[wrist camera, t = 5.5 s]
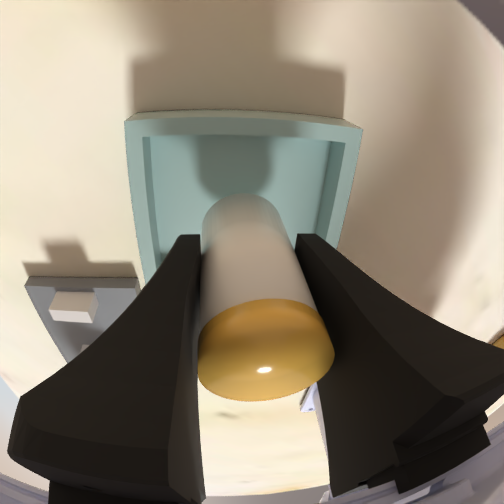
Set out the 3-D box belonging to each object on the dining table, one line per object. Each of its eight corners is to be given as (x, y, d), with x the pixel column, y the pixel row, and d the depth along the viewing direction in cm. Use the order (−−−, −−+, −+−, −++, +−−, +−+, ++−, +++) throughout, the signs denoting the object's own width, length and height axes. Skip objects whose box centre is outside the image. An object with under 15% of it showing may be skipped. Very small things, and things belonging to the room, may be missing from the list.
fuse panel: (137, 277, 14) (130, 308, 13) (182, 428, 26) (183, 447, 25) (29, 276, 13) (14, 303, 12) (120, 425, 26) (118, 442, 24)
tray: (343, 119, 11) (363, 129, 10) (312, 275, 16) (322, 299, 14) (136, 112, 10) (124, 121, 8) (154, 279, 15) (150, 304, 13)
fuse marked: (290, 195, 11) (354, 324, 6) (274, 264, 12) (312, 396, 7) (202, 188, 10) (197, 327, 5) (198, 261, 12) (197, 402, 7)
